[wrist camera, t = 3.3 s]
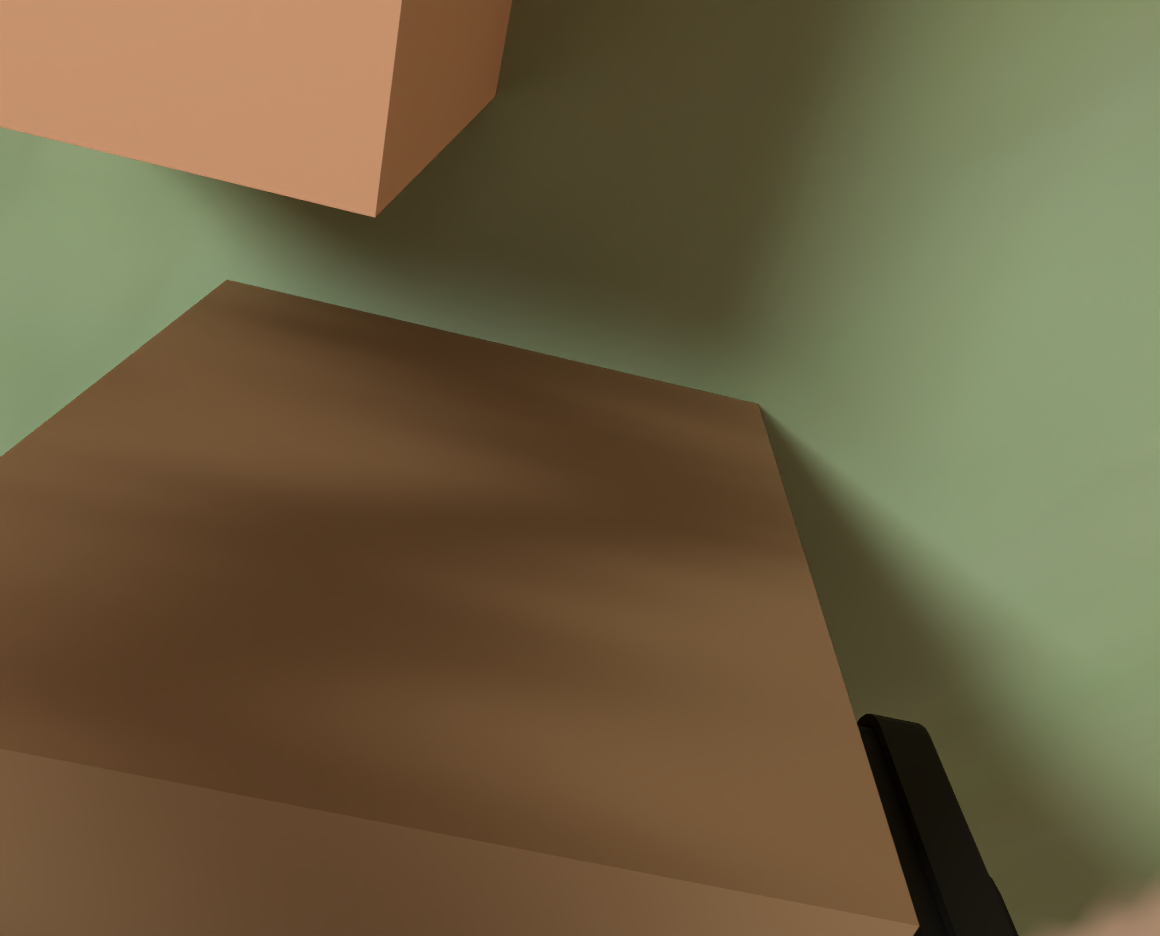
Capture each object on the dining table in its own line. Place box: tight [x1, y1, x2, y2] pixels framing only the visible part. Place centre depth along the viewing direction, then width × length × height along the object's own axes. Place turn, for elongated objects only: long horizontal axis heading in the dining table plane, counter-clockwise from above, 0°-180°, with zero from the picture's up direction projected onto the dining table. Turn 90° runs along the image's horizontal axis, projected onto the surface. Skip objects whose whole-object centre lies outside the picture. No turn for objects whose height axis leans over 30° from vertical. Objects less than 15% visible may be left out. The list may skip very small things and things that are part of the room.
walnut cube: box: [0, 280, 919, 936], centre depth 9 cm, size 6×6×6 cm
